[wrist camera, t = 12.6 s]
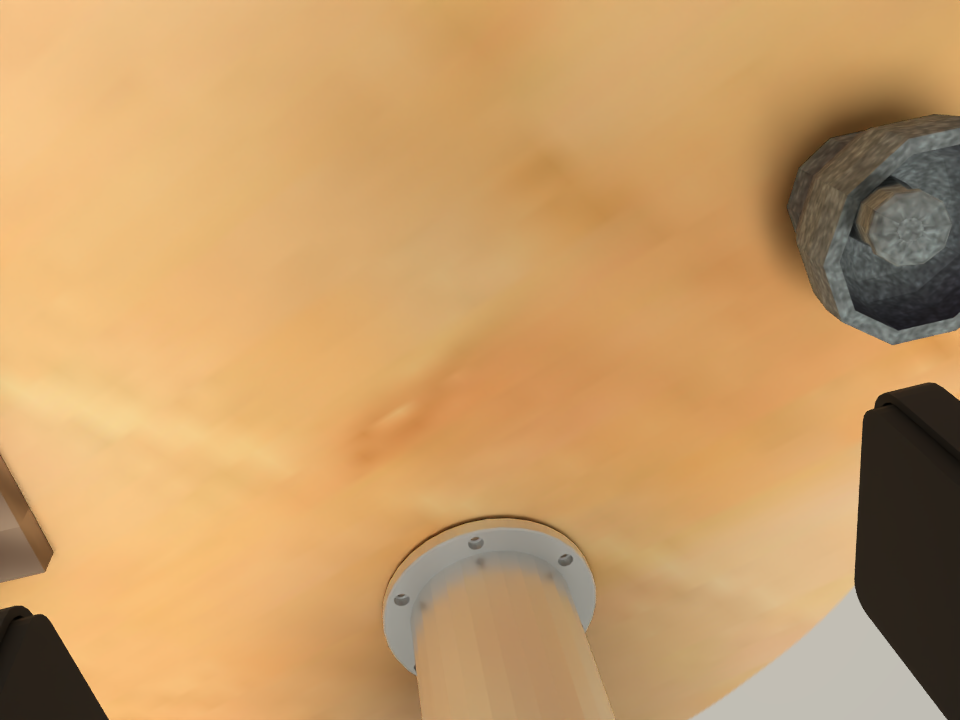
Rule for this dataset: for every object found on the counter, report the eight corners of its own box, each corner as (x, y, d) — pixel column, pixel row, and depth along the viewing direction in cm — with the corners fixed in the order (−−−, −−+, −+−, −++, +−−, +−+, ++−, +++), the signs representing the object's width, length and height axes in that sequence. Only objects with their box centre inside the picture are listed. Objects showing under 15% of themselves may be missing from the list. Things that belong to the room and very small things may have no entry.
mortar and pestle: (977, 147, 42) (1194, 226, 32) (863, 308, 45) (1025, 428, 35) (804, 44, 38) (985, 95, 28) (694, 228, 42) (818, 336, 31)
